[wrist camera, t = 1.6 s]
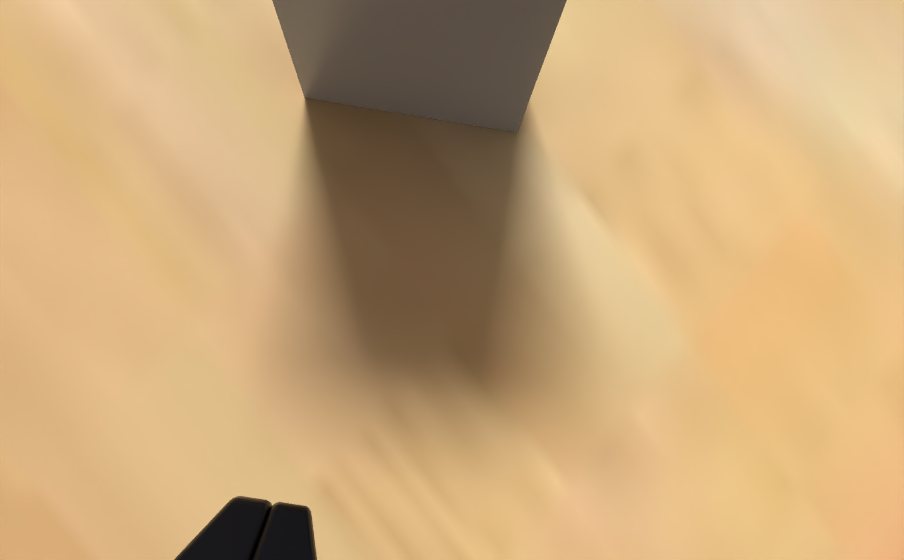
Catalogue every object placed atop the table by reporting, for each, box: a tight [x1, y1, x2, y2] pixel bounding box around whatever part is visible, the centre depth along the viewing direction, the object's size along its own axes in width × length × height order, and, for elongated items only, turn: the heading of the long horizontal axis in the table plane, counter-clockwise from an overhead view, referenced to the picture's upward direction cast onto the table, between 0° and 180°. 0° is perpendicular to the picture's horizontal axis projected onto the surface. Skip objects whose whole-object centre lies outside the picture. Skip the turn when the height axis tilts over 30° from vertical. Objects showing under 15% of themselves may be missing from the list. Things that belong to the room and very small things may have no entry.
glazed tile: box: [272, 0, 567, 133], centre depth 19 cm, size 2×6×8 cm, turn 81°
